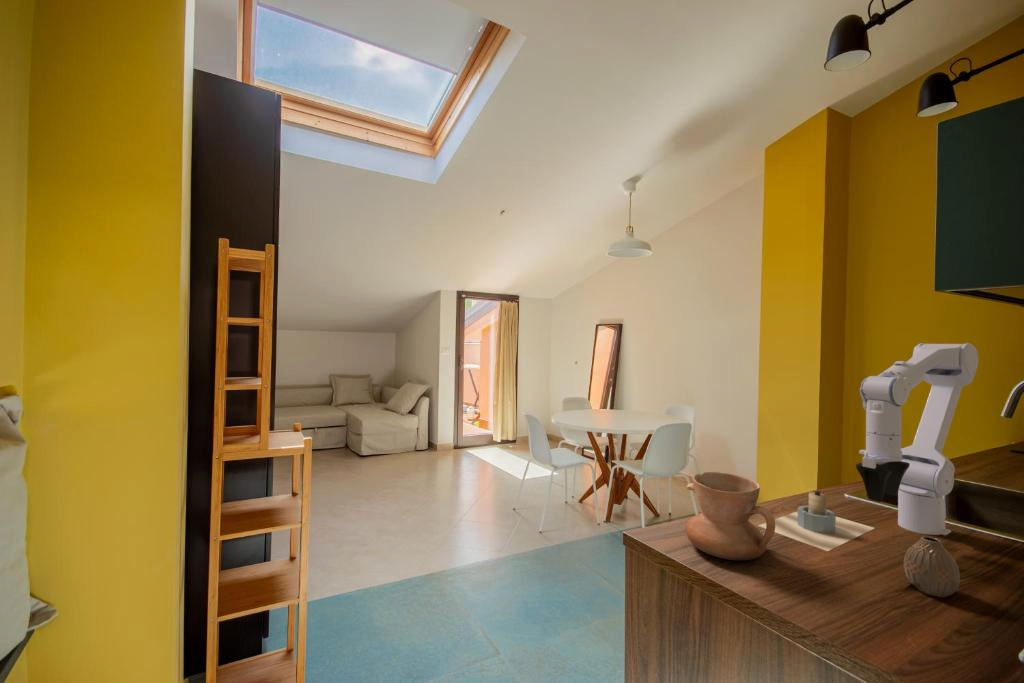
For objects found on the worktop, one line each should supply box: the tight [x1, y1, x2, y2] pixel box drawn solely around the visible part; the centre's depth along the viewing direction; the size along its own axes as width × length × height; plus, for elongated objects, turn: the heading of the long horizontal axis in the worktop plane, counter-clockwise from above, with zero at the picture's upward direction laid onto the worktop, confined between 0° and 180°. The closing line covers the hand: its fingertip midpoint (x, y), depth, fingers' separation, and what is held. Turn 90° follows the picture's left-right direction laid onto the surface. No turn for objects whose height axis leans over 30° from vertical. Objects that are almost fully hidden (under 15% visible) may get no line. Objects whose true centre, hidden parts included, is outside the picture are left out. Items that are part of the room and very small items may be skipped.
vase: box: [903, 535, 961, 598], centre depth 75 cm, size 7×7×9 cm
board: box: [757, 510, 876, 552], centre depth 99 cm, size 22×14×1 cm, turn 122°
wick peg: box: [807, 490, 827, 515], centre depth 99 cm, size 3×3×8 cm
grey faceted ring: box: [797, 505, 837, 533], centre depth 99 cm, size 7×7×4 cm
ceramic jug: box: [685, 471, 775, 561], centre depth 88 cm, size 18×14×14 cm
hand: (882, 497), depth 94 cm, fingers open, 7 cm apart
